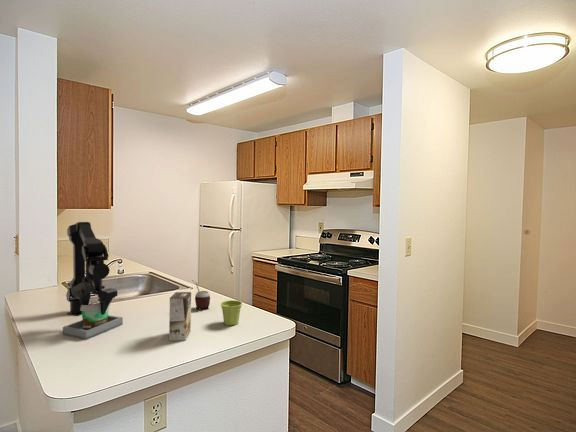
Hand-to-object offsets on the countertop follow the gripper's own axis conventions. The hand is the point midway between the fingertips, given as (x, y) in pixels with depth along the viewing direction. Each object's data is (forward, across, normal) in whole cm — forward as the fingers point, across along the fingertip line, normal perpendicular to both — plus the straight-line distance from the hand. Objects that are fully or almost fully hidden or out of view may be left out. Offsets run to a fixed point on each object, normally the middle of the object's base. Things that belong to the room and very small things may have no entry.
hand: (94, 313), depth 138 cm
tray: (+7, 0, 0) cm, 7 cm away
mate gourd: (+7, +24, +39) cm, 46 cm away
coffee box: (+7, +35, +8) cm, 37 cm away
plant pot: (+7, +46, +28) cm, 54 cm away
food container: (+6, +1, +2) cm, 6 cm away
